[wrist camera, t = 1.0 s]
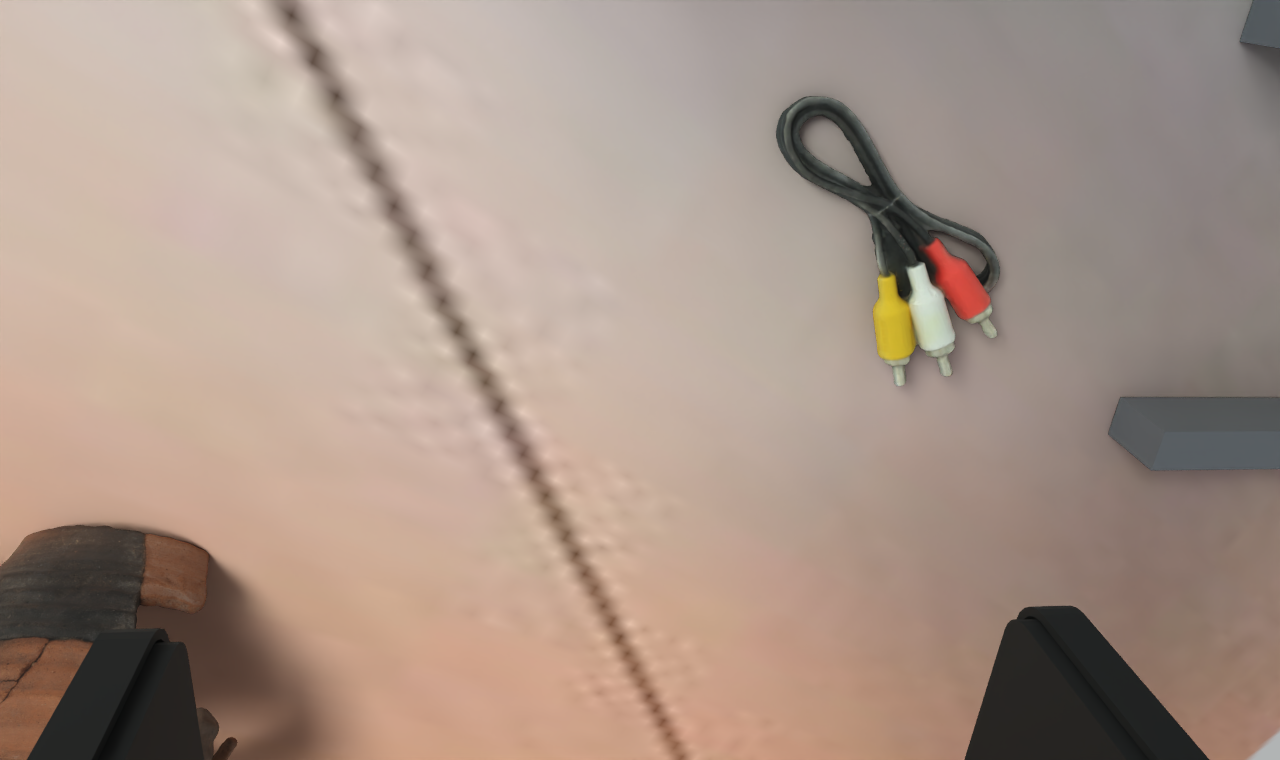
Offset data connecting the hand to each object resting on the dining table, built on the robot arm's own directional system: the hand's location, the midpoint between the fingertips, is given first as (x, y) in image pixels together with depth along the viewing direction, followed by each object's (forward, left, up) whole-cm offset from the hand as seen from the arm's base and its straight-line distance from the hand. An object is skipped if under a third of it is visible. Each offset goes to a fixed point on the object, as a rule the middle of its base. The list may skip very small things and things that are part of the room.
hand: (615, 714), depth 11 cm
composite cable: (-1, +11, -20) cm, 22 cm away
